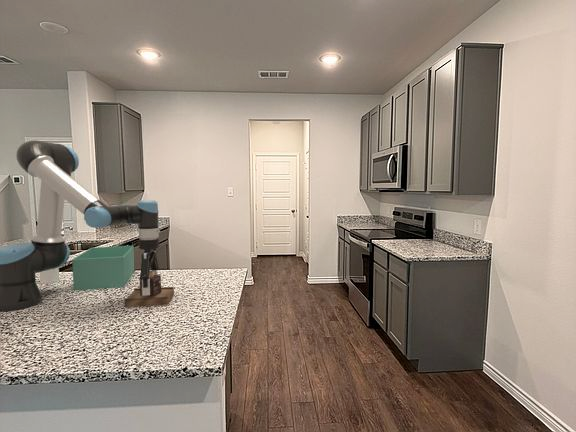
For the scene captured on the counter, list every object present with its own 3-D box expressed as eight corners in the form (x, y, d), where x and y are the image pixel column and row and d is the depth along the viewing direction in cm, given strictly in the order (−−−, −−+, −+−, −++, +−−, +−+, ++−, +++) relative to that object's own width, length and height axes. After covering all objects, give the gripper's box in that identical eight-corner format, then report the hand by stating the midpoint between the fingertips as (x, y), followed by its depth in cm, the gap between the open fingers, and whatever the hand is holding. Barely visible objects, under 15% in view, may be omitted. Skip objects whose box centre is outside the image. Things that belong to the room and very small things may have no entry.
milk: (54, 283, 158) (52, 238, 156) (39, 284, 156) (37, 238, 155) (59, 279, 164) (57, 236, 162) (45, 280, 162) (43, 236, 160)
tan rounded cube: (144, 277, 132) (144, 272, 131) (146, 275, 135) (146, 271, 134) (152, 277, 132) (152, 272, 132) (154, 275, 135) (154, 270, 135)
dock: (124, 307, 126) (124, 299, 126) (134, 295, 140) (134, 288, 139) (167, 304, 129) (167, 297, 128) (173, 293, 142) (173, 286, 142)
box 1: (134, 271, 183) (133, 245, 182) (124, 287, 153) (123, 256, 152) (92, 274, 177) (91, 247, 176) (73, 291, 146) (72, 259, 145)
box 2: (153, 296, 131) (152, 278, 130) (139, 296, 132) (139, 278, 131) (161, 292, 136) (161, 275, 136) (148, 291, 138) (148, 274, 137)
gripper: (151, 243, 121) (152, 299, 122) (164, 234, 145) (165, 281, 147) (129, 243, 119) (131, 300, 121) (146, 234, 144) (148, 282, 145)
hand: (150, 290), depth 134 cm, fingers open, 13 cm apart
